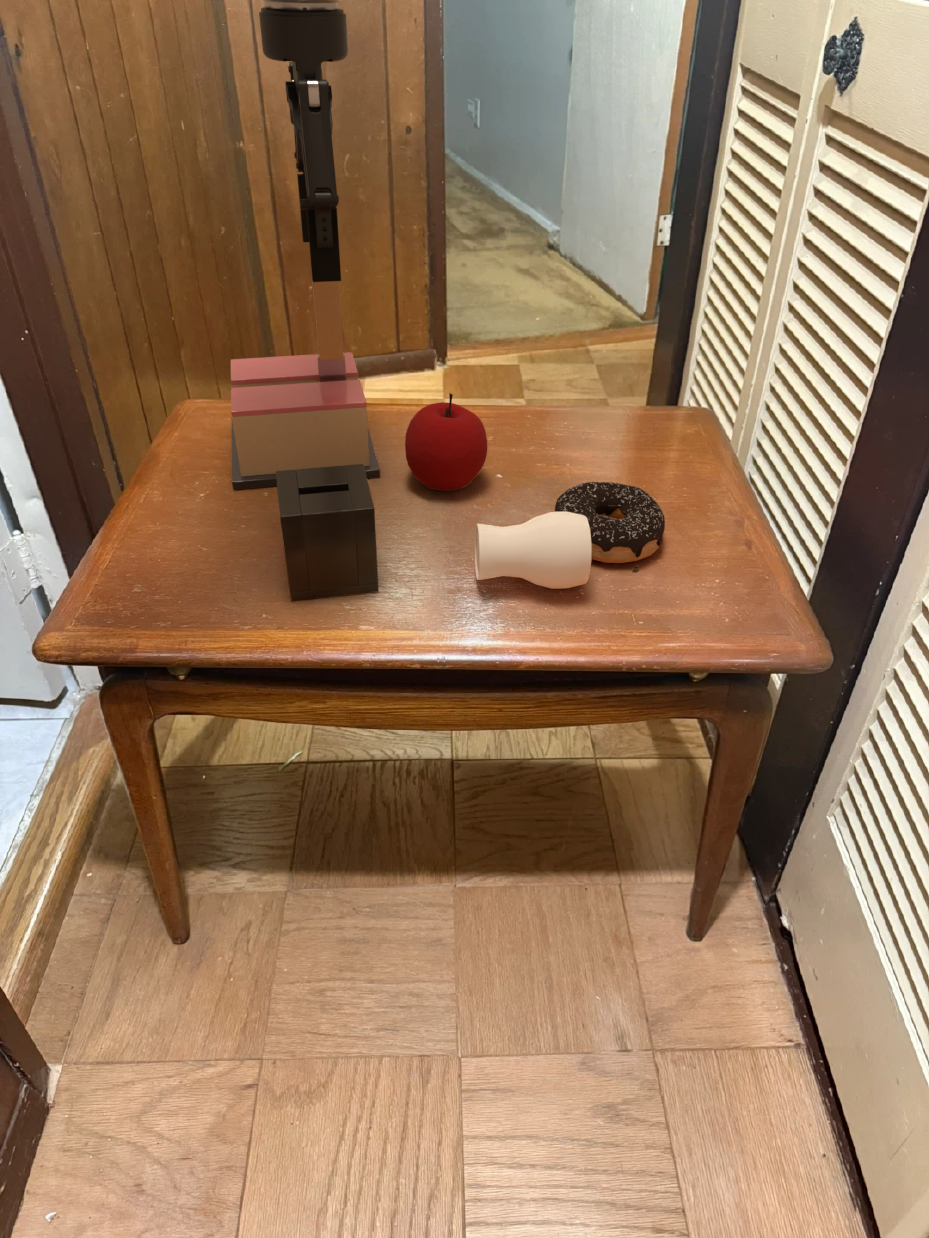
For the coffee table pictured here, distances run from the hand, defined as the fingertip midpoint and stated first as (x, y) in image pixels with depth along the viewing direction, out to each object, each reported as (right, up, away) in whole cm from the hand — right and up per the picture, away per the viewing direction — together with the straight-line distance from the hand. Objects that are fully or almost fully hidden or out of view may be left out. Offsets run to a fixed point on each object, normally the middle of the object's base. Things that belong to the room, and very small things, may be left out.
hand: (320, 260), depth 88 cm
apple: (+13, -22, +8) cm, 26 cm away
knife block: (+2, -32, -6) cm, 33 cm away
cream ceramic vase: (+21, -33, -7) cm, 40 cm away
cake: (-4, -17, +13) cm, 22 cm away
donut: (+29, -29, 0) cm, 41 cm away
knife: (0, -16, +13) cm, 20 cm away
